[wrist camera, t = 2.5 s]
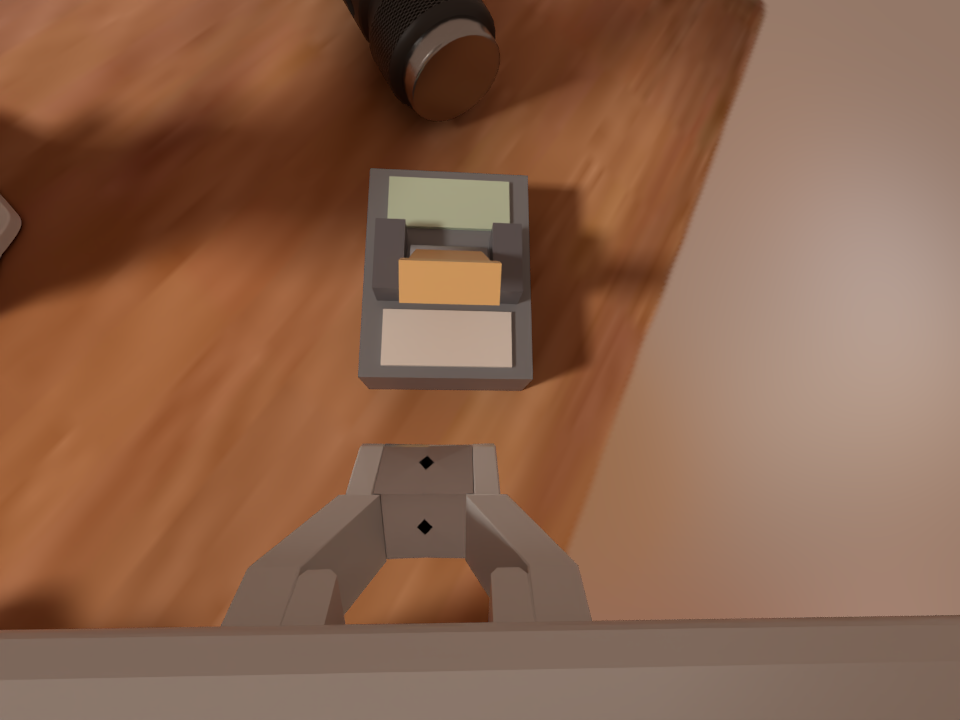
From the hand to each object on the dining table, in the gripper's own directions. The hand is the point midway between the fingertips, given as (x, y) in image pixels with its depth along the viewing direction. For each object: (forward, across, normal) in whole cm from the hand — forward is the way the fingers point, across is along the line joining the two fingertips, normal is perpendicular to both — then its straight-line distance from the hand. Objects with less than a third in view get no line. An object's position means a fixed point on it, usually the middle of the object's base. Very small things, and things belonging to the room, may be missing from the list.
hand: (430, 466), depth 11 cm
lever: (+24, 0, +2) cm, 24 cm away
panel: (+29, 0, +7) cm, 29 cm away
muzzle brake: (+47, +7, -14) cm, 50 cm away
